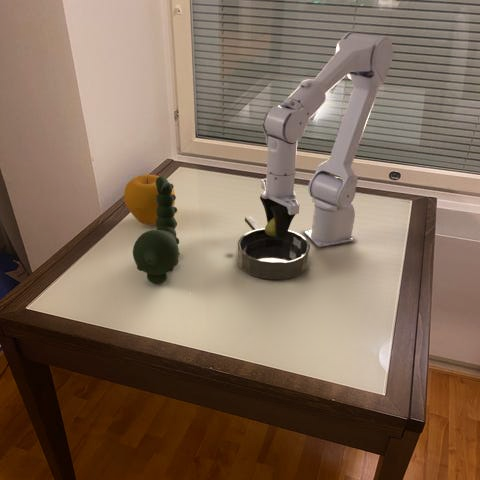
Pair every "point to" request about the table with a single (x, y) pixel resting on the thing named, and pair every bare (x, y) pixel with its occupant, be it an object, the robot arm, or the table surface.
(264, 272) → the skillet
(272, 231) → the lime
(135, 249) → the toy figurine
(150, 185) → the apple
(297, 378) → the table surface
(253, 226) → the skillet handle
